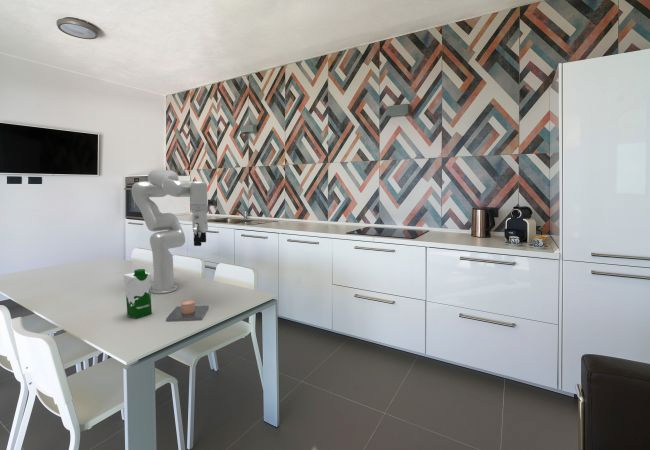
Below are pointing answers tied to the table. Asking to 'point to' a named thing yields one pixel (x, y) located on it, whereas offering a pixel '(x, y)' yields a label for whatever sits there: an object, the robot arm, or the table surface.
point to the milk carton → (138, 293)
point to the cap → (188, 307)
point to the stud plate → (179, 316)
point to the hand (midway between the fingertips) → (200, 244)
